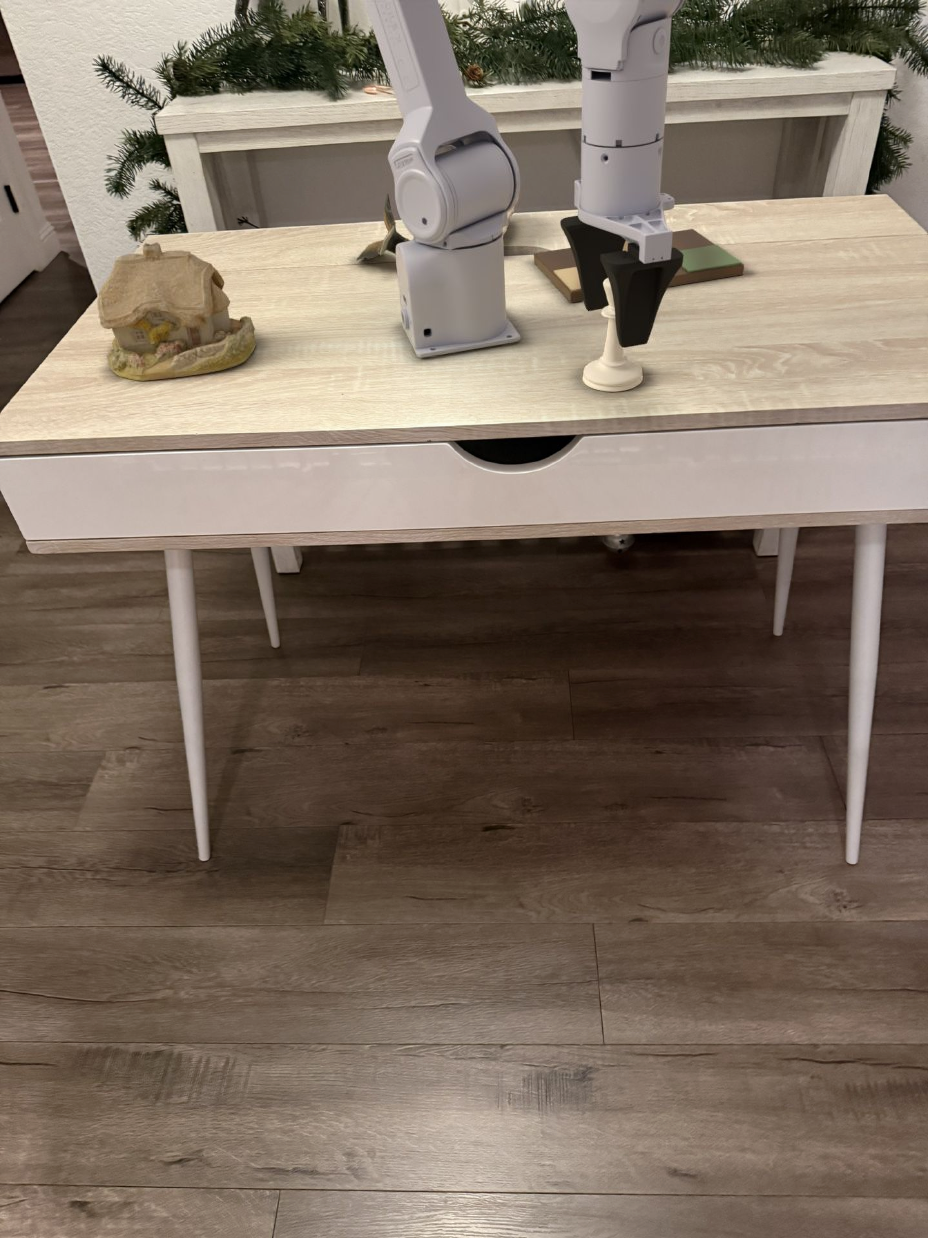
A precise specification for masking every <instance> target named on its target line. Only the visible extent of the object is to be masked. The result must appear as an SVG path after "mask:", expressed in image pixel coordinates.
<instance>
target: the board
mask: <svg viewBox="0 0 928 1238" xmlns="http://www.w3.org/2000/svg"><path fill="white" fill-rule="evenodd" d="M628 243H629V242H628V241H625V244H624V248H623V251H625V250H626V251H627V250H628ZM674 247H675V248H676V249H678V250H679V251H680V252H682V253H683V255H684V257H683V264H682V266H681V268H680V269H679V270H678V272H677V273H676V274H675V276H674V277H673V279H672V281H671V282H670V284H669V286H668V288H669V287H675V286H683V285H688V284H693V283H700V282H706V281H713V280H718V279H724V278H730V277H731V278H732V277H736V276H742V275H744V270H745V264H744V263H743V262H742V261H741V260H739V259H738V258H736V257H735V256H734V255H732V254H731V253H730V252H728V251H727V250H725V249H724V248H722V247H721V246H719V245H718V244H715V243H714V242H712V241H711V240H709V239H708V238H707V237H705V236H704V235H702V234H701V233H699V232H698V231H697V230H695V229H693V228H688V229H682V230H675V231H673V235H672V248H674ZM533 263H534V264H535V266H537V268H538V269H539V270H540V271H541V272H542V273H543V274H544V276H546V277H547V279H548V280H549V281H550V282H551V283H552V284H553V285H554V286H555V287H556V289H557V290H558V291H559V292H560V293H561V294H562V295H563V296H564V297H565V298H566V299H567V300H568V302H569V303H578V302H579V303H580V302H584V301H583V296H582V291H581V286H580V281H579V276H578V271H577V267H576V263H575V259H574V256H573V253H572V250H571V247H565V248H560V249H553V250H547V251H540V252H535V253H533Z"/></svg>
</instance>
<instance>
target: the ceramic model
mask: <svg viewBox="0 0 928 1238" xmlns="http://www.w3.org/2000/svg"><path fill="white" fill-rule="evenodd" d="M224 286H225V280H224V279H223V276H222V275H221V274H220V272H219V270H218V269H216V267H214V266H213V264H212V263H211V262H208V261H206V260H203V259H201V258H199V257H198V256H196V255H195V254H192V253H191V251H190V250H189V251H187V250H181V249H180V250H167V251H166V250H165V251H163V250H162V248H161V244H160V243H159V242H157V241H156V242H154V243H151V244H150V243H146V242H145V243H144V244H143V246H142V253H128V254H124V255H120V256H119V257H118V258H116V259H115V260H114V264H113V267H112V270H111V272H110V274H109V276H108V277H107V280H106V281H105V282H104V283H103V285H102V286H101V288H100V290H99V292H98V298H97V302H96V303H97V310H98V318H99V321H100V322H99V323H100V325H101V327H102V328H103V329H107V330H110V329H111V330H112V333H113V335H114V338H113V340H112V341H111V345H112V347H113V348H112V349H109V351H108V354H106V357H107V358H106V359H107V364H108V366H109V369H110V370H111V371H112V372H113V373H114V374H116V376H118V377H121V378H125V379H128V380H134V381H140V382H145V381H155V380H161V379H172V378H174V379H175V378H180V377H189V376H197V375H203V374H208V373H213V372H218V371H223V370H225V369H231V368H232V367H236V366H239V365H240V364H242V363H244V362H246V361H247V360H248V358H250V356H251V355H252V353H253V351H255V347H256V339H255V330H256V328H255V325H254V323H253V320H252V318H251V317H250V316H247V315H246V316H245V315H243V316H242V317H240V318H239V319H235V318H233V317H230V313H229V307H230V304H231V300H230V299H229V297H228V295H227V294H226V293H225V291H223V289H224V288H225V287H224Z"/></svg>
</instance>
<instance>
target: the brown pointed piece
mask: <svg viewBox="0 0 928 1238" xmlns="http://www.w3.org/2000/svg"><path fill="white" fill-rule="evenodd" d="M383 223H384V226H385V228H386V230H387V234H386V235H385V237H384V238H383V239H381V240H376V241H373V242H372V243H370V244H368V245H367V246H365V248H364V249H363V251H362V252H361V253H360V254H359V256H358V257H357V258H356V261H359V260H361V259H364V258H366V259H367V260H371V259H376V257H378V256H379V255H380V256H383V255H384V254H385V253H386V251H387V252H390V253H392V254H394V255H395V256H396V245H397V244H399V243H402V242H407V241H410V240H411V239H409V238H407V237H406V236H405V237H404V236H403V235H402V234H400V233H399V232H398V231H397V228H396V226H397V225H396V224H397V223H396V221H395V217H394V214H393V212H392V207H391V199H390V195H389V193H386V198H385V202H384V208H383Z"/></svg>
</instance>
